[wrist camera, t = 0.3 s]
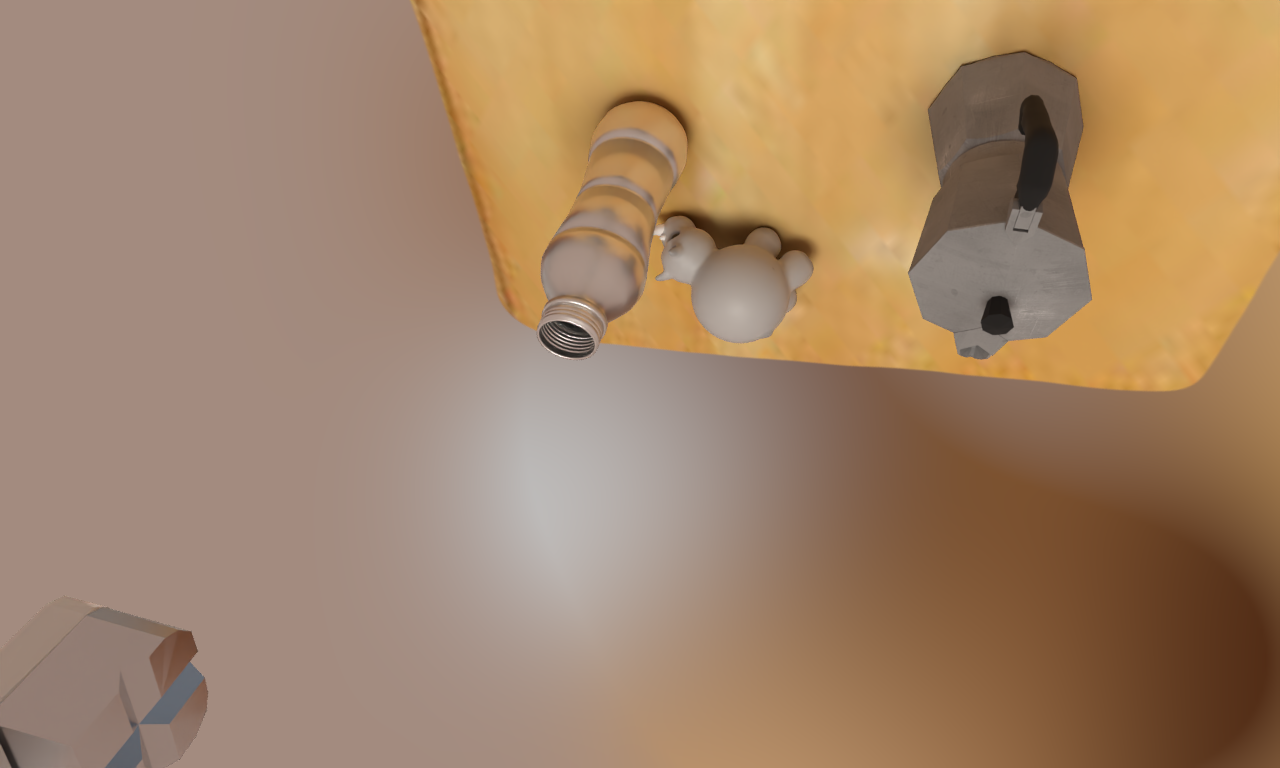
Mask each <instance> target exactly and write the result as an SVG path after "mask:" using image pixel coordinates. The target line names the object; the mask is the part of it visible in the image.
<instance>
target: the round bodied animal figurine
mask: <svg viewBox="0 0 1280 768" xmlns="http://www.w3.org/2000/svg"><path fill="white" fill-rule="evenodd" d="M653 235H659V236H660V239H661V240H662V243H663V245H664V249H663V252H662V255H661V259H662V264H663V268H664V271H663V272H662V273H661V274H659V275H658V276H656V280H657V281H664V280H668V279H674V280H676V281H678V282H682V283H687V284H690V285H691V287H692V294H691V298H692V305H693V309H694V312H695V314H696V316H697V318H698V320H699V321H700V323H701V324H702V325H703V327H704V328H705V329H706V330H707V331H708V332H710V333H711V334H712V335H714V336H716V337H717V338H719V339H722V340H724V341H728V342H732V343H748V342H753V341H756V340H759V339H761V338H767V337H769V336H771V335H772V333H773V331H774V329H775V328H776V327H777V326H778V325H779V324H780V323H781V321H782V320H783V318H784V316H785V314H786V313H787V312H789V311H790V310H791V309H792V308H793V307H794V306H795V304H796V301H797V295H796V291H795V289H796V288H798V287H800V286H802V285H803V284H804V283H806V282H807V281H808V280H809V278H810V277H811V275H812V273H813V264H812V261H811V260H810V258H809V257H808V256H807V255H806V254H805V253H803V252H802V251H798V250H792V251H789V252H787V253H785V254H784V255H783V256H782V257H781V258H780V259H778V260H777V259H775V258H776V257H777V256H778V254H779V253H780V251H781V242H780V239H779V237H778V235H777V234H776V233H775V232H774V231H773V230H771V229H769V228H764V227H763V228H757V229H755V230H754V231H752V232H751V233H750V234H749V236H748V237H747V239H746V240H745V243H744V244H740V245H732V246H728V247H725V248H722V249H717V247H716V244H715V242H714V240H713V238H712V237H711V236H710V235H709V234H708V233H707V232H705V231H704V230H701V229H698V228H696V227H695V225H694V223H693V222H692V221H691V220H690V219H689V218H687V217H685V216H674V217H670V218H668V219H667V221H666V222H665V223H663V224H659V225H656V226H655V230H654V234H653Z"/></svg>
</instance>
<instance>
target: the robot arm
mask: <svg viewBox="0 0 1280 768" xmlns="http://www.w3.org/2000/svg"><path fill="white" fill-rule="evenodd" d="M197 652H198V650H197V647H196V644H195V641H194V638H193V635H192V632H191V631H188V630H184V629H181V628H177V627H173V626H170V625H166V624H163V623H159V622H156V621H152V620H148V619H145V618H141V617H138V616H134V615H131V614H127V613H123V612H120V611H116V610H113V609H110V608H108V607H104V606H101V605H97V604H94V603H90V602H86V601H82V600H79V599H75V598H71V597H67V596H63V597H61V598H58V599H56V600H54V601H52V602H50V603H48V604H46V605H45V606H44V607H43V608H42V609H41V610H40V611H39V612H38V613H37V614H36V615H35V616H34V617H33V618H32V619H31V620H29V621H28V622H27V623H26V624H25V625H24V626H23V627H22V628H21V629H20V630H19V631H18V632H17V633H16V634H15V635H14V636H13V637H12V638H11V639H10V640H9V641H8V642H7V643H6V644H5V645H4V646H3V647H2V648H1V649H0V768H165V767H167V766H169V765H171V764H173V763H174V762H176V761H178V760H180V759H181V757H182V756H183V754H184V753H185V751H186V750H187V749H188V747H189V746H190V744H191V743H192V741H193V740H194V739H195V737H196V735H197V733H198V730H199V728H200V725H201V723H202V721H203V718H204V716H205V713H206V710H207V698H208V690H207V685H206V681H205V677H204V676H202V674H201V673H200V672H199V671H198V670H197V669H196V668H195V667H194V666H193V665H192V664H191V662H190V661H191V659H192V658H193V657H194V655H195V654H196V653H197Z"/></svg>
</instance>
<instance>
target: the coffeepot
mask: <svg viewBox="0 0 1280 768" xmlns="http://www.w3.org/2000/svg"><path fill="white" fill-rule="evenodd" d="M928 113H929V119H930V125H931V131H932V138H933V144H934V150H935V156H936V162H937V168H938V174H939V179H940V184H941V189H940V190H939V192H938V193H937V194H936V196H935V197H934V198H933V201H932V204H931V207H930V210H929V213H928V216H927V219H926V222H925V225H924V228H923V231H922V234H921V237H920V240H919V243H918V246H917V249H916V252H915V255H914V258H913V261H912V264H911V267H910V270H909V271H908V274H909V277H910V280H911V283H912V287H913V290H914V293H915V296H916V299H917V302H918V305H919V308H920V311H921V314H922V317H923V319H925V320H927V321H929V322H931V323H934V324H936V325H938V326H940V327H942V328H944V329H947V330H949V331H951V332H953V333H954V338H955V343H956V348H957V352H958V354H959V355H961V356H963V357H974V358H976V359H988V358H989V357H990V356H991V355H992V356H993V355H994V354H995V353H996V352H997V351H998V350H999V349H1000V348H1001V347H1002V346H1004V345H1005V344H1006V343H1007V342H1008V341H1012V340H1023V339H1033V338H1043V337H1047V336H1048V335H1049V334H1051V333H1052V332H1053V331H1054V330H1056V329H1057V328H1058V327H1059V326H1060V325H1062V324H1063V323H1064V322H1065V321H1067V320H1068V319H1069V318H1070V317H1071V316H1073V315H1074V314H1075V313H1076V312H1078V311H1079V310H1080V309H1081V308H1082V307H1084V306H1085V305H1086V304H1087V303H1089V302H1090V301H1091V300H1092V295H1091V289H1090V282H1089V276H1088V269H1087V262H1086V256H1085V249H1084V247H1083V244H1082V240H1081V236H1080V233H1079V229H1078V225H1077V221H1076V218H1075V214H1074V210H1073V206H1072V202H1071V199H1070V195H1069V191H1068V187H1069V183H1070V179H1071V175H1072V171H1073V167H1074V163H1075V159H1076V155H1077V151H1078V147H1079V143H1080V139H1081V135H1082V131H1083V120H1082V113H1081V105H1080V99H1079V91H1078V84H1077V78H1075V77H1074V76H1072V75H1070V74H1069V73H1067V72H1065V71H1064V70H1062V69H1060V68H1059V67H1057V66H1056V65H1054V64H1053V63H1051V62H1049V61H1046V60H1044V59H1041V58H1038V57H1034V56H1032V55H1030V54H1028V53H1026V52H1021V53H1013V54H1006V55H999V56H993V57H989V58H986V59H983V60H980V61H977V62H975V63H973V64H970V65H965V66H962V67H961V68H960V69H959V70H958V71H957V73H956V74H955V75H954V76H953V77H952V78H951V80H950V81H949V82H948V83H947V84H946V85H945V86H944V88H943V89H942V91H941V92H940V94H939V96H938V97H937V99H936V100H935V101H934V103H933V104H932V105H931V106H930V108H929V109H928Z"/></svg>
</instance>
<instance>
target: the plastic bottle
mask: <svg viewBox="0 0 1280 768" xmlns="http://www.w3.org/2000/svg"><path fill="white" fill-rule="evenodd" d="M687 142H688V141H687V136H686V133H685V131H684V129H683V127H682V125H681V124H680V122H679V121H678V120H677V118H676V117H675V116H674V115H673V114H672V113H671V112H670V111H668V110H667V109H665V108H664V107H662V106H660V105H657V104H654V103H651V102H645V101H634V102H629V103H624V104H621V105H618V106H616V107H614V108H613V109H611V110H610V111H609V112H608V113H607V114H606V115H605V116H604V118H603V119H602V120H601V122H600V123H599V124H598V126H597V127H596V129H595V131H594V133H593V136H592V141H591V146H590V151H589V159H588V166H587V169H586V173H585V176H584V180H583V183H582V187H581V190H580V192H579V194H578V196H577V198H576V200H575V202H574V204H573V206H572V208H571V210H570V212H569V214H568V216H567V217H566V219H565V220H564V222H563V223H562V225H561V226H560V228H559V229H558V231H557V232H556V234H555V235H554V237H553V238H552V240H551V241H550V243H549V245H548V247H547V249H546V250H545V252H544V254H543V256H542V261H541V281H542V284H543V288H544V291H545V294H546V296H547V299H548V302H547V303H546V305H545V307H544V309H543V311H542V318H541V320H540V323H539V325H538V328H537V338H538V340H539V342H540V343H541V345H542V346H543V347H544V348H545V349H547V350H548V351H549V352H551V353H553V354H554V355H557V356H559V357H562V358H565V359H570V360H582V359H587V358H589V357H591V356H592V355H593V354H594V353H595V352H596V350H597V349H598V346H599V343H600V341H601V339H602V338H603V336H604V335H605V332H606V330H607V326H608V322H611V321H613V320H615V319H617V318H618V317H620V316H622V315H624V314H625V313H627V312H628V311H629V310H630V309H632V307H633V306H634V305H635V304H636V303H637V301H638V300H639V299H640V297H641V296H642V294H643V291H644V287H645V283H646V279H647V271H648V263H649V255H650V247H651V242H652V238H653V234H654V230H655V226H656V222H657V219H658V216H659V214H660V212H661V209H662V207H663V205H664V203H665V201H666V199H667V196H668V194H669V192H670V191H671V190H672V188H673V187H674V185H675V184H676V182H677V181H678V179H679V177H680V175H681V173H682V171H683V170H684V168H685V164H686V160H687Z"/></svg>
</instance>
